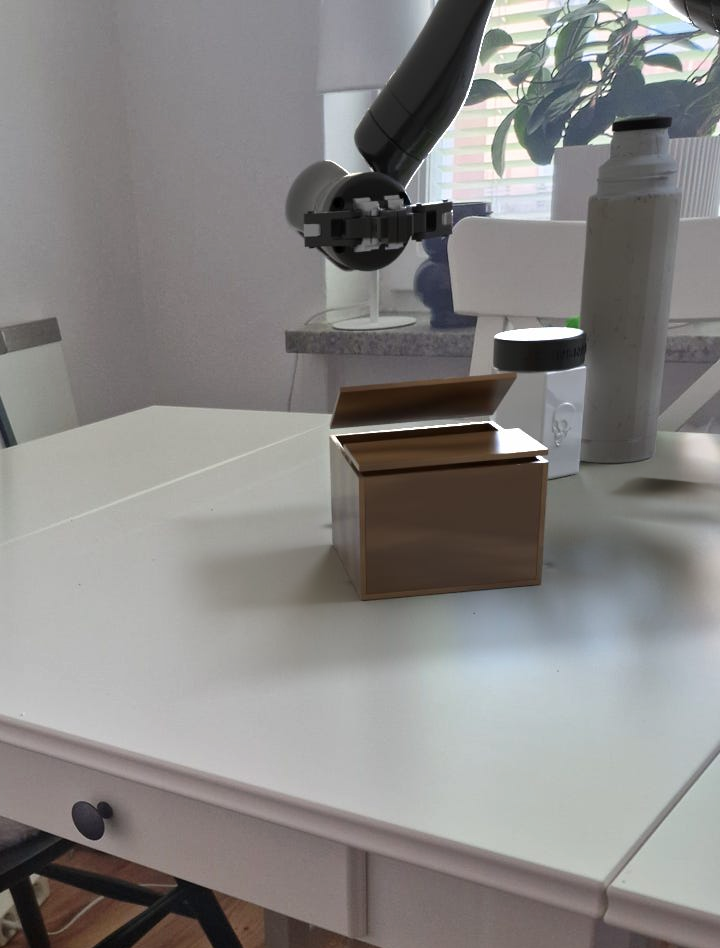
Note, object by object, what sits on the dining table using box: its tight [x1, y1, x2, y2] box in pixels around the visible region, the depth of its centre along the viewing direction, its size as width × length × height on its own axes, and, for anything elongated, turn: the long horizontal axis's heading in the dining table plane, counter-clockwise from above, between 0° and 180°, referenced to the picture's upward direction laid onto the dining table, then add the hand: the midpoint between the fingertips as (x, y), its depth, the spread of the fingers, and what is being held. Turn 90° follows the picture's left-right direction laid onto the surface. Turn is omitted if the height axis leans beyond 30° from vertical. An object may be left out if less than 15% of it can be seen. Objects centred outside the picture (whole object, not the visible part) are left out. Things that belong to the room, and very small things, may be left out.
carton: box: [328, 420, 549, 601], centre depth 86 cm, size 15×13×9 cm
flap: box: [329, 372, 517, 430], centre depth 86 cm, size 7×13×1 cm, turn 94°
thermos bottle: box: [579, 115, 683, 464], centre depth 107 cm, size 8×8×28 cm
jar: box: [489, 327, 587, 481], centre depth 107 cm, size 9×8×12 cm
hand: (398, 227), depth 88 cm, fingers closed
